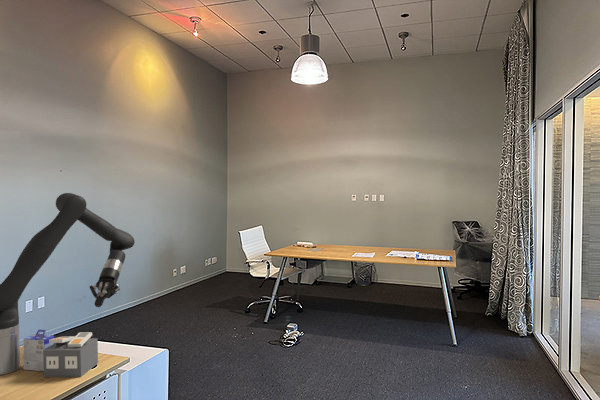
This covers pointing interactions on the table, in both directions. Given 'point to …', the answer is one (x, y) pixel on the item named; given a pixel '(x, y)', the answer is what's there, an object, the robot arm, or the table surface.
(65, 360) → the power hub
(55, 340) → the inner rocker
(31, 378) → the table surface
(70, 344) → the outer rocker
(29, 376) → the table surface
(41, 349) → the ink cartridge box
